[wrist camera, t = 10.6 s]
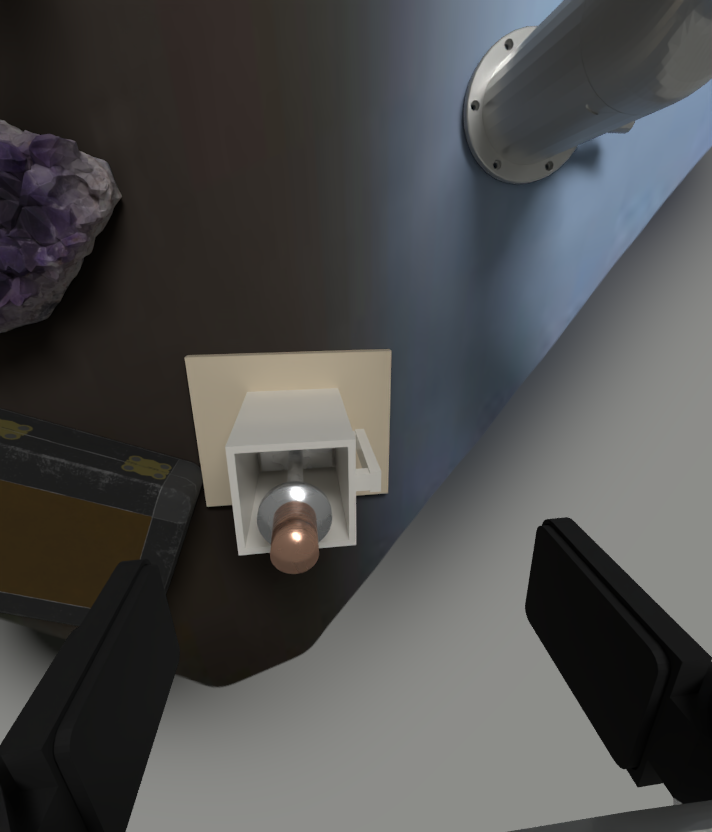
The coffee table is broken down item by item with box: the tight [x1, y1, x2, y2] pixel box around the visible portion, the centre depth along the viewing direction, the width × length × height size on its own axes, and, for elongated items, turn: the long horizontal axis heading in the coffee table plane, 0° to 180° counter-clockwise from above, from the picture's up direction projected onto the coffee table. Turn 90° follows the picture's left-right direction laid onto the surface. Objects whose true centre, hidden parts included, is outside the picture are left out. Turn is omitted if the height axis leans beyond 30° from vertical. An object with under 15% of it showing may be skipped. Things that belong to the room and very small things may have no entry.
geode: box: [0, 120, 122, 333], centre depth 35 cm, size 20×12×10 cm, turn 145°
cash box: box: [0, 408, 203, 626], centre depth 45 cm, size 25×20×8 cm
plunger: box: [257, 448, 332, 574], centre depth 37 cm, size 8×8×21 cm
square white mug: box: [185, 349, 391, 555], centre depth 41 cm, size 22×18×16 cm
